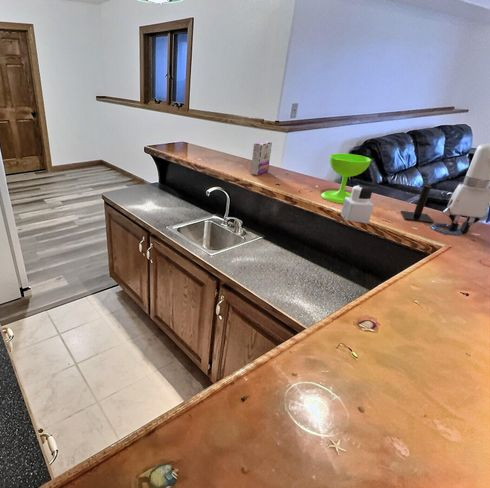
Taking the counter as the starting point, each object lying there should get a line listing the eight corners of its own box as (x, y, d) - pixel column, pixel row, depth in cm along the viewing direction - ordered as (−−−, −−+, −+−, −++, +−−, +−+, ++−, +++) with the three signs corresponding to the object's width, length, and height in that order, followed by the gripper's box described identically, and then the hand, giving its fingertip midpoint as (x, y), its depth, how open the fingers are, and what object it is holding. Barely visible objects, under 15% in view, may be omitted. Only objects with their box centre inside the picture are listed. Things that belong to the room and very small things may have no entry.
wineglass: (339, 190, 166) (349, 152, 158) (368, 201, 152) (380, 160, 144) (313, 194, 160) (321, 154, 152) (340, 205, 147) (351, 163, 139)
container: (360, 216, 136) (369, 184, 131) (368, 224, 130) (378, 190, 124) (340, 215, 137) (348, 183, 131) (347, 223, 130) (356, 189, 124)
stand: (426, 217, 137) (438, 184, 131) (431, 226, 129) (445, 191, 123) (399, 214, 140) (410, 181, 134) (404, 222, 132) (416, 187, 126)
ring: (456, 229, 127) (458, 224, 126) (464, 239, 119) (466, 234, 118) (426, 225, 130) (428, 220, 129) (432, 234, 122) (434, 229, 121)
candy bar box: (260, 170, 197) (264, 140, 190) (268, 172, 194) (272, 142, 187) (249, 174, 190) (253, 143, 183) (257, 175, 187) (262, 144, 179)
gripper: (503, 182, 115) (480, 233, 124) (445, 177, 121) (427, 225, 129) (513, 188, 109) (488, 241, 117) (452, 182, 115) (432, 233, 123)
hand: (456, 233), depth 123 cm, fingers closed on ring, 2 cm apart
